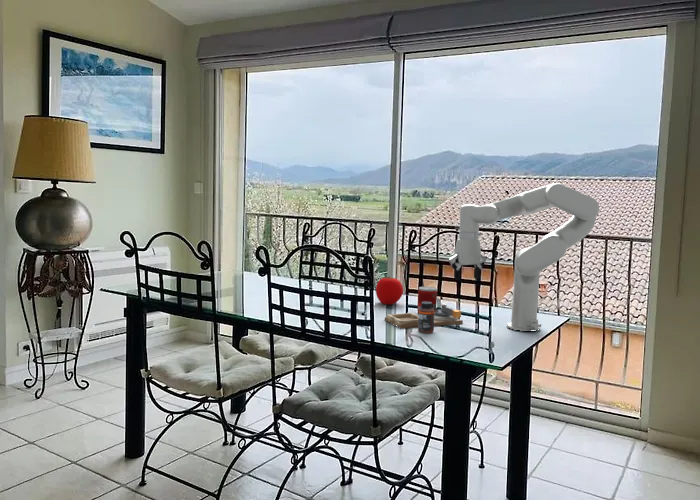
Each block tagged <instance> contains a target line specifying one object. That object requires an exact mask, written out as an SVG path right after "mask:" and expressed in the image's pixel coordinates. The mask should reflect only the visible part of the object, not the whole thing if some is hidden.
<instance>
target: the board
mask: <svg viewBox="0 0 700 500" xmlns="http://www.w3.org/2000/svg"><path fill="white" fill-rule="evenodd" d="M418 316H419V314H415V313H413V312H407V313H406V312H402V313H393V314H392V313H391V314H386V316H384V321H385V320H386V322H387V321H388V322H387V323H389V322H390V323H389V324H391V323H392V324H391V325H393V324H394V325H393V326H395V325H397V326H398V327H397V326H396V327H397V328H399V327H400V328H399V329H401V328H402V329H411V328H413V329H414V328H418ZM460 324H464V322H463V320H462V319H461V318H455V317H452V316H437V315H435V314H434V327H436V326H437V327H438V326H446V325H447V326H449V325H460Z"/></svg>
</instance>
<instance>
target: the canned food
mask: <svg viewBox="0 0 700 500" xmlns="http://www.w3.org/2000/svg"><path fill="white" fill-rule="evenodd" d="M417 290H418V291H417V314H419V308H420V307H421V303H422V302H425V301H427V302H432V308H433V309H434V311H435V310H437V302H438V301H437V300H438V299H437V298H438V288H437V287H434V286H419V287H418V289H417Z"/></svg>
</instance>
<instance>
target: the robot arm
mask: <svg viewBox="0 0 700 500" xmlns="http://www.w3.org/2000/svg"><path fill="white" fill-rule="evenodd" d="M555 207H556V208H557V209H559V210H561V211H563V212H565V213H568V214H570V215H571V216H572V217H571V218H570V219H569V220H568V221H566V222H565V223H563V224H562V225H561V226H558V228H556V229H555V230H553V231H551V232H549V233H548V234H545V235H544V236H543V237H541V239H540V241H538V242H537V243H535V244H534V245H532V246H530V247H525V248H522V249H520V250H519V251H518V252H517V253H516V255H515V257H514V272H513V273H514V276H513V288H512V302H511V303H512V305H511V307H512V308H511V321H510V322H507V324H506V327H507V328H508V329H509V328H510V330H512V329H514V330H513V331H516V330H520V331H519V332H522V331H531V330H538V329H540V330H541V328H542V323H539V318H538V305H539V304H538V303H539V290H540V289H539V288H540V278H541V277H540V276H541V275H540V274H541V272H542V271H544V270H545V269H547V268H548V267H550V266H552V265H553V264H555V263H556V262H558V261H559V260H561V259H562V258H563V257H564V256H565V254H566V253H567V250H568V249H569V248H571V247H572V246H574V245H575V244H577V243H579V242H580V241H582V240H583V239H584V238H585V237H587V236H588V235H589V233H590V232H591V231H592V230H593V228H594V226H595V223H596V219H597V215H598V214H599V212H600V205H599V202H598V201H597V200H596V199H595V198H594V197H591V196H589V195H587V194H584V193H582V192H581V191H578V190H575V189H573V188H570V187H569V186H567V185H565V184H563V183H559V182H555V183H551V184H548V185H545V186H541V187H538V188H535V189H531V190H528V191H524V192H522V193H518V194H517V195H514V196H511V197H509V198H505V199H501V200H498V201H495V202H491V203H489V204H485V205H477V204H462V205H461V206H460V208H459V211H460V212H459V231H458V234H459V235H458V239H456V243H455V247H454V255H453V256H451V257H450V258H449V259H448V262H449V264H450V266H451V268H452V269H453V278H454V280H456V281H461V270H460V268H461V267H462V266H469V265H473V266H474V269H473V278H474V279H475V280H476V279H477V280H481V270H482V269H483V267H484V266H485V263H486V261H487V257H486V256H484V255H483V254H482V248H481V247H482V246H481V242H480V241H481V240H480V238H479V237H481V234H482V233H481V232H480V224H481V225H482V224H483V225H493V224H496V223H497V222H498V221H499V222H500V221H502V220H505V219H509V218H512V217H516V216H526V215H530V214H534V213H537V212H538V213H539V212H540V211H545V210H547V209H550V208H555Z"/></svg>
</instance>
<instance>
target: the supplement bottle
mask: <svg viewBox="0 0 700 500" xmlns="http://www.w3.org/2000/svg"><path fill="white" fill-rule="evenodd" d="M418 315H419V316H418V327H417V330H418V332H419V333H421V334H432V333H433V332H434V329H435V326H434V309H433V308H432V302H427V301H425V302H422V303H421V307H420V308H419V313H418Z"/></svg>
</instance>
